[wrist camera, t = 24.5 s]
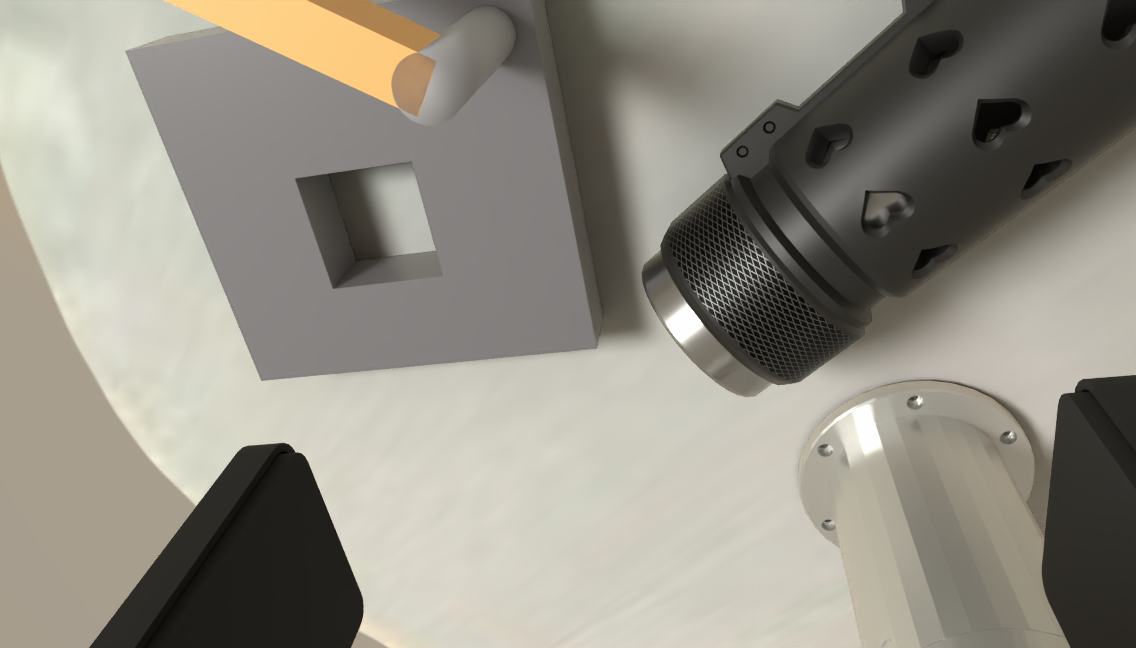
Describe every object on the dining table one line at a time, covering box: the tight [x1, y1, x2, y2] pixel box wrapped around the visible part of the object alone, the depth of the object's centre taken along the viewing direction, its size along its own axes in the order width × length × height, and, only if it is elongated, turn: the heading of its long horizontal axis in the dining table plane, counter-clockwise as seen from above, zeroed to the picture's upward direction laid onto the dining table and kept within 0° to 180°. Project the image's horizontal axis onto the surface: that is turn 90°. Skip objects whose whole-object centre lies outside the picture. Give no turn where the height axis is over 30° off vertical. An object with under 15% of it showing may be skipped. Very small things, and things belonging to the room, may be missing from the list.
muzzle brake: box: [642, 0, 1136, 397], centre depth 35 cm, size 10×28×10 cm
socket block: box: [125, 0, 603, 381], centre depth 42 cm, size 18×19×4 cm
